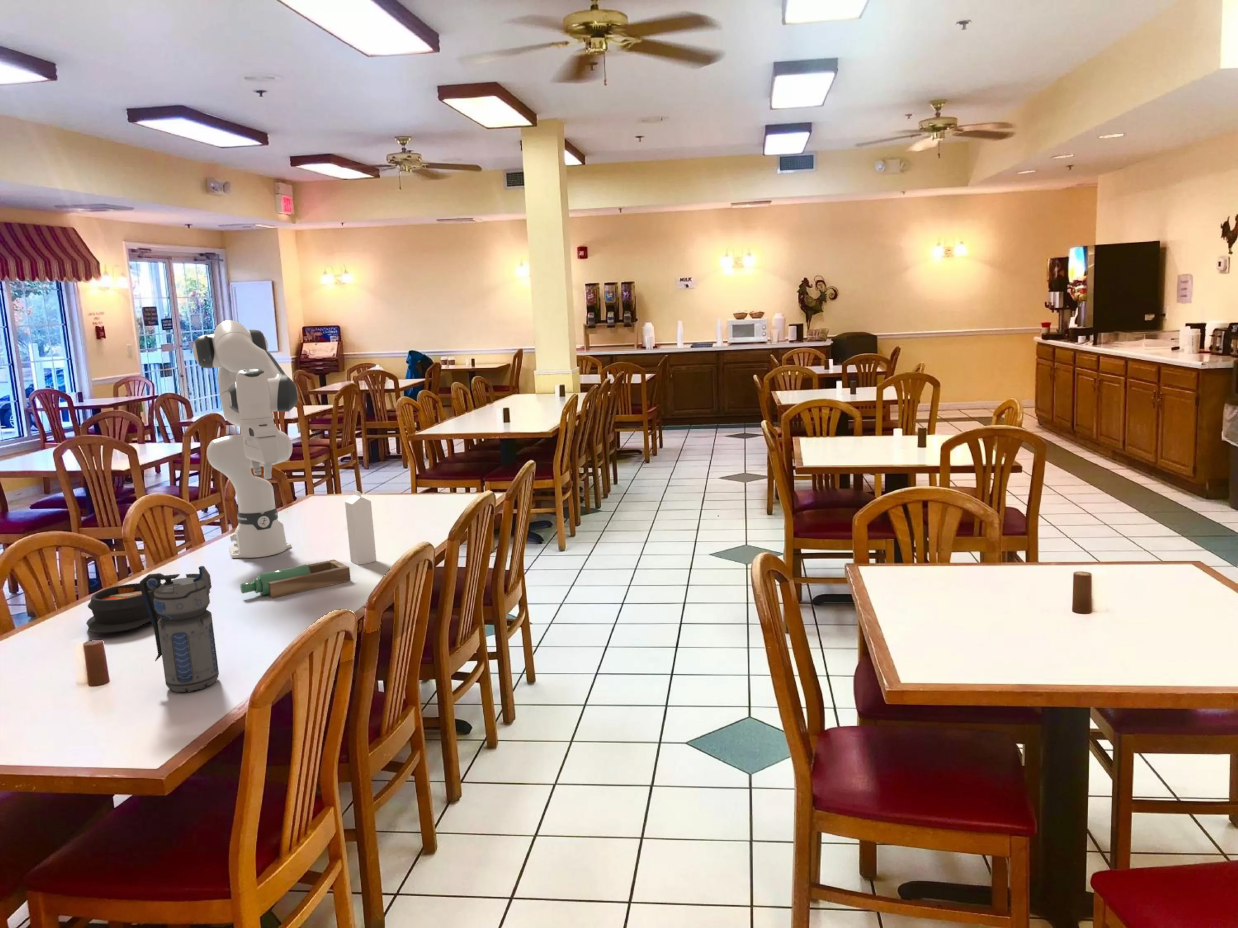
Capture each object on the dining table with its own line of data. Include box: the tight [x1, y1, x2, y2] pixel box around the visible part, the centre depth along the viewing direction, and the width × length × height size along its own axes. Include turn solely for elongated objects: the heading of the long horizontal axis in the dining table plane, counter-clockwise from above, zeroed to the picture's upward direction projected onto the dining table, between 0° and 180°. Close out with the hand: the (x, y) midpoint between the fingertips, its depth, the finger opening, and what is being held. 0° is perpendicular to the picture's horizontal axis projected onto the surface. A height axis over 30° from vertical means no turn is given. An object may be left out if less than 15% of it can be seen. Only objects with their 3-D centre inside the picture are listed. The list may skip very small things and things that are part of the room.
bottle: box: [239, 564, 311, 596], centre depth 258 cm, size 6×6×18 cm
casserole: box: [86, 582, 161, 634], centre depth 237 cm, size 25×19×8 cm
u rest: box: [268, 559, 352, 599], centre depth 264 cm, size 12×22×4 cm, turn 127°
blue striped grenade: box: [139, 565, 220, 693], centre depth 192 cm, size 10×13×25 cm
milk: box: [344, 489, 377, 566], centre depth 285 cm, size 6×6×22 cm
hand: (262, 476), depth 262 cm, fingers open, 8 cm apart
